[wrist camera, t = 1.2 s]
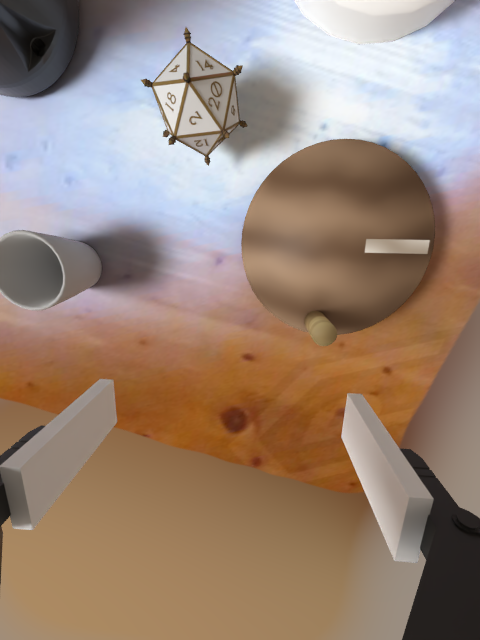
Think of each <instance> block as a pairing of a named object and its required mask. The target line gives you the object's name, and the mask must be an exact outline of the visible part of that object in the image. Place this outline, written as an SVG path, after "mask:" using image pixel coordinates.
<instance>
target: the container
mask: <svg viewBox="0 0 480 640" xmlns="http://www.w3.org/2000/svg"><path fill="white" fill-rule="evenodd" d="M294 1H295V3H296V4H297V6H298V8H299V9H300V11H301V12H302V14H303V15H304V16H305V17H306V18H308V19H309V20H310V21H311V22H313V23H314V24H315V25H316V26H318V27H319V28H320V29H322V30H323V31H324V32H325V33H327V34H328V35H329V36H333V37H336V38H339V39H343V40H346V41H349V42H353V43H356V44H359V45H360V44H371V43H383V42H393V41H395V40H397V39H399V38H402V37H404V36H406V35H408V34H410V33H412V32H415V31H417V30H419V29H421V28H423V27H426V26H427V25H428V24H429V23H430V22H431V21H432V20H434V19H435V18H436V17H437V16H438V15H439V14H441V13H442V12H443V11H444V10H445V9H446V8H447V7H449V6H450V5H451V4H452V3H453V2H454V1H455V0H294Z"/></svg>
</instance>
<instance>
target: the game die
mask: <svg viewBox="0 0 480 640" xmlns="http://www.w3.org/2000/svg"><path fill="white" fill-rule="evenodd" d="M190 34H191V33H190V32H189V31H188V29H187V28H185V33H184V35H185V40H186V44H185V46H184V47H183V48H182V49H181V50H180V51H179V53H178V54H177V55H176V56H175V57H174V58H173V60H172V61H171V62H170V63H169V64H168V65H167V67H166V68H165V69H164V70H163V71H162V72H161V74H160V75H159V76H158V77H157V78H156V79H155V81H154V82H153V83H152V82H150V80H147V79H144V80H141V81H142V82H143V84H144V85H145V87H146V86H147V87H151V88H152V89H153V92H154V95H155V98H156V100H157V103H158V106H159V108H160V111H161V114H162V117H163V119H164V122H165V125H166V127H167V130H165V131H164V132H163V137H168V136H169V134H171V135H172V137H171V138H169V145H171V144H174V143H175V142H176V141H175V140H177V141H179V142H181V143H183V144H185V145H186V146H188V147H190V148H192V149H194V150H195V151H197V152H199V153H201V154H203V155H204V156H205V162H206V163H207V165H208V166H209V163H210V158H209V156H208V155H209V154H210V153H211V152H212V151H213V150H214V149H215V148H216V147H217V146H218V145H219V144H220V143H221V142H222V141H223V140H224V139H225V138H229V134H230V133H231V132H232V131H233V130H234V129H235V128H236V127H237V126H238V125H240V126H241V127H243V128H244V127H246V126H247V124H246V123H245V121H243V120H242V121H240V118H239V109H238V99H237V90H236V80H235V76H236V75H239V73H241V70H242V67H243V65H242V66H238V65H237V67H236V68H234V71H232V70H231V69H229V68H228V67H226V66H225V65H223V64H222V63H220V62H219V61H217V60H216V59H214V58H213V57H211V56H210V55H208V54H207V53H205V52H204V51H202V50H201V49H199V48H198V47H196V46H195V45H193V44H192V43H191V42H190V40H191V37H190Z"/></svg>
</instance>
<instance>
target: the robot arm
mask: <svg viewBox="0 0 480 640" xmlns="http://www.w3.org/2000/svg"><path fill="white" fill-rule="evenodd" d="M78 28H79V9H78V0H0V95H4V96H10V97H25V96H30V95H34V94H37V93H39V92H41V91H43V90H45V89H47V88H48V87H50V86H51V85H52V84H53V83H54V82H56V80H57V79H58V78H59V77H60V76H61V75H62V74H63V72H64V71H65V69H66V67H67V66H68V64H69V62H70V60H71V58H72V55H73V52H74V49H75V46H76V42H77V36H78ZM116 423H117V416H116V405H115V394H114V383H113V380H108V379H100V380H98V381H97V382H96V383H95V384H94V385H93V386H91V387H90V388H89V389H88V390H87V391H86V392H85V393H83V394H82V395H81V396H80V397H79V398H78V399H76V400H75V401H74V402H73V403H72V404H71V405H70V406H68V407H67V408H66V409H65V410H64V411H63V412H61V413H60V414H59V415H58V416H57V417H56V418H55V419H53V420H52V421H51V422H50V423H49V424H48V425H46V426H40V427H38V428H36V429H34V430H32V431H30V432H28V433H27V434H26V435H25V436H24V437H22V438H21V439H20V440H19V442H16V443H15V444H14V445H13V446H11V448H10V449H8V450H7V451H5V452H4V453H3V454H2V455H1V456H0V583H1V561H2V538H3V532H2V527H1V525H2V524H3V523H4V522H5V521H6V519H8V517H9V516H10V518H11V522H12V526H13V528H15V529H27V530H33V529H34V528H35V526H36V525H37V524H38V523H39V521H40V520H41V518H43V516H44V515H45V514H46V512H47V511H48V510H49V509H50V507H51V506H52V505H53V503H54V502H55V501H56V500H57V498H58V497H59V496H60V495H61V493H62V492H63V491H64V489H65V488H66V487H67V486H68V484H69V483H70V482H71V480H72V479H73V478H74V477H75V475H76V474H77V473H78V472H79V470H80V469H81V467H82V466H83V465H84V464H85V463H86V461H87V460H88V459H89V458H90V456H91V455H92V454H93V452H94V451H95V450H96V449H97V447H98V446H99V445H100V443H101V442H102V441H103V440H104V438H105V437H106V435H108V433H109V432H110V431H111V429H112V428H113V427H114V426H115V424H116ZM341 437H342V440H343V442H344V444H345V447H346V449H347V451H348V454H349V456H350V458H351V461H352V463H353V465H354V468H355V470H356V472H357V475H358V477H359V479H360V482H361V484H362V486H363V489H364V491H365V493H366V495H367V498H368V500H369V502H370V505H371V507H372V509H373V512H374V514H375V516H376V519H377V521H378V523H379V526H380V528H381V530H382V533H383V535H384V537H385V540H386V542H387V544H388V547H389V549H390V551H391V553H392V556H393V558H394V561H401V562H413V563H417V562H418V558H419V554H420V550H421V551H422V553H423V555H424V557H425V558H426V564H425V567H424V570H423V573H422V576H421V580H420V583H419V586H418V589H417V593H416V596H415V599H414V602H413V606H412V609H411V612H410V616H409V619H408V622H407V625H406V629H405V632H404V635H403V639H402V640H480V518H478V517H477V516H475V515H474V514H472V513H471V512H469V511H467V510H465V509H462V508H460V507H458V505H457V504H456V502H455V501H454V500H453V499H452V497H451V496H450V494H449V493H448V492H447V491H446V489H445V488H444V487H443V485H442V484H441V483H440V481H439V480H438V479H437V478H436V476H435V475H434V473H433V472H432V471H431V470H429V467H428V466H427V464H426V463H425V462H424V460H423V459H422V458H421V457H420V456H418V455H417V454H416V453H414V452H413V451H412V450H411V449H399V448H398V446H397V445H396V443H395V442H394V440H393V439H392V437H391V436H390V434H389V433H388V432H387V430H386V429H385V427H384V426H383V424H382V423H381V421H380V420H379V418H378V417H377V415H376V414H375V413H374V411H373V410H372V408H371V407H370V405H369V404H368V402H367V401H366V399H365V398H364V396H363V395H362V394H350V393H348V394H347V401H346V408H345V415H344V422H343V429H342V436H341Z"/></svg>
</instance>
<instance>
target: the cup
mask: <svg viewBox="0 0 480 640" xmlns="http://www.w3.org/2000/svg"><path fill="white" fill-rule="evenodd" d="M101 272H102V265H101V260H100V258H99V256H98V254H97V253H96V251H95V250H94V249H93V248H92V247H90V246H89V245H87V244H85V243H82V242H78V241H74V240H70V239H66V238H62V237H57V236H53V235H47V234H42V233H36V232H31V231H26V230H19V231H12V232H9V233H7V234H5V235H3V236H2V237H1V238H0V292H1V293H2V295H3V296H4V297H5V298H7V299H8V300H9V301H10V302H12V303H13V304H15V305H17V306H19V307H21V308H24V309H29V310H44V309H47V308H50V307H52V306H55V305H57V304H59V303H61V302H63V301H65V300H67V299H69V298H71V297H73V296H75V295H77V294H79V293H81V292H82V291H84V290H86V289H88V288H90V287H91V286H93V285H94V284H96V283H97V281H98V280H99V279H100V276H101Z"/></svg>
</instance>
